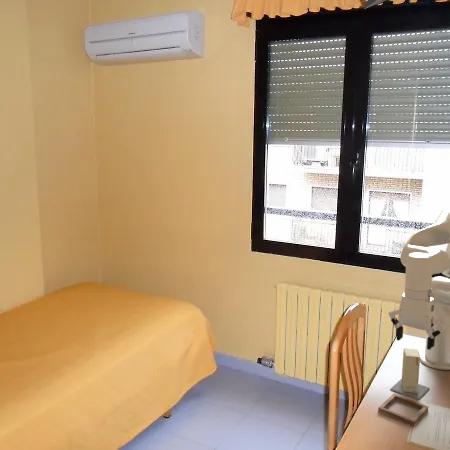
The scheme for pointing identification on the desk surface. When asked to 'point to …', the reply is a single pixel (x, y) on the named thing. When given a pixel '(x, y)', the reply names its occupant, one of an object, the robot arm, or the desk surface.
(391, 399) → the square wooden frame
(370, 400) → the desk surface
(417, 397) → the rubber mat
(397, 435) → the desk surface
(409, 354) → the skincare box
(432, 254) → the robot arm
